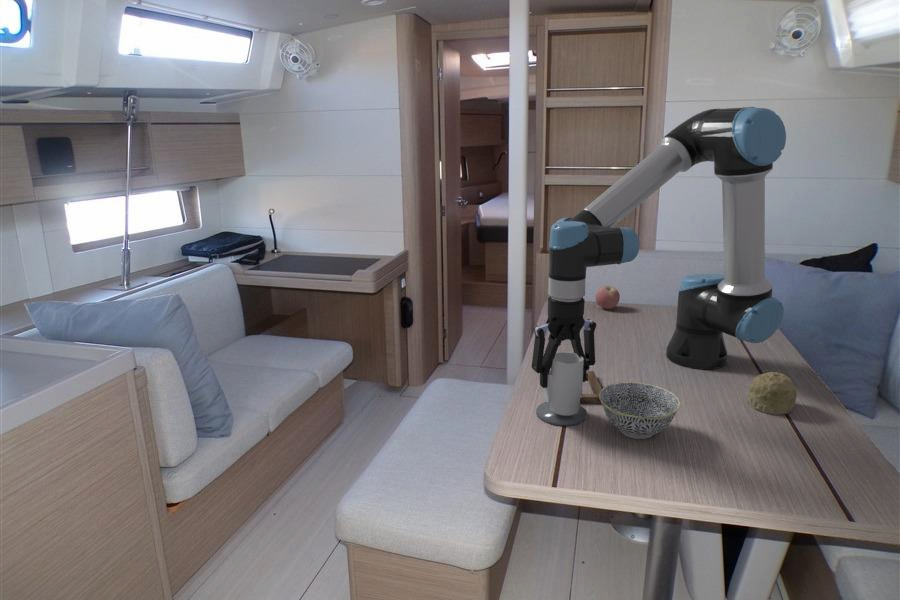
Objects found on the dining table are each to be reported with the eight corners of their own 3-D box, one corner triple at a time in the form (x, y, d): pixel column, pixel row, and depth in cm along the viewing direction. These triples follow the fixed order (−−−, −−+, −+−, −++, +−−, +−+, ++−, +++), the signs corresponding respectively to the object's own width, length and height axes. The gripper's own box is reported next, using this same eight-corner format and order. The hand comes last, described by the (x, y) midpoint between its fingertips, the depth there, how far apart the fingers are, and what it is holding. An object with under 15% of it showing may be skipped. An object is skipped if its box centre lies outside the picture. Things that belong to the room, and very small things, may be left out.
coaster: (582, 403, 137) (582, 400, 137) (590, 426, 126) (591, 423, 126) (534, 402, 138) (534, 400, 137) (538, 425, 127) (538, 423, 127)
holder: (593, 376, 151) (593, 371, 151) (604, 403, 137) (605, 397, 136) (545, 376, 152) (545, 370, 151) (551, 402, 137) (552, 396, 137)
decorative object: (760, 429, 131) (792, 403, 125) (730, 391, 137) (759, 365, 130) (783, 422, 136) (816, 397, 130) (753, 386, 142) (783, 360, 135)
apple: (595, 311, 202) (596, 289, 200) (594, 305, 209) (595, 283, 207) (619, 312, 201) (621, 289, 199) (617, 306, 208) (619, 283, 206)
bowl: (666, 459, 114) (670, 423, 112) (586, 437, 122) (587, 404, 120) (684, 424, 127) (688, 391, 124) (610, 407, 135) (612, 376, 133)
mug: (582, 417, 127) (585, 364, 123) (550, 415, 127) (552, 363, 124) (576, 396, 136) (579, 347, 133) (546, 395, 137) (549, 346, 133)
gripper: (598, 287, 130) (593, 384, 137) (515, 296, 125) (514, 397, 132) (617, 296, 124) (611, 398, 130) (530, 306, 118) (528, 412, 125)
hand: (562, 397), depth 131 cm, fingers closed on mug, 7 cm apart
